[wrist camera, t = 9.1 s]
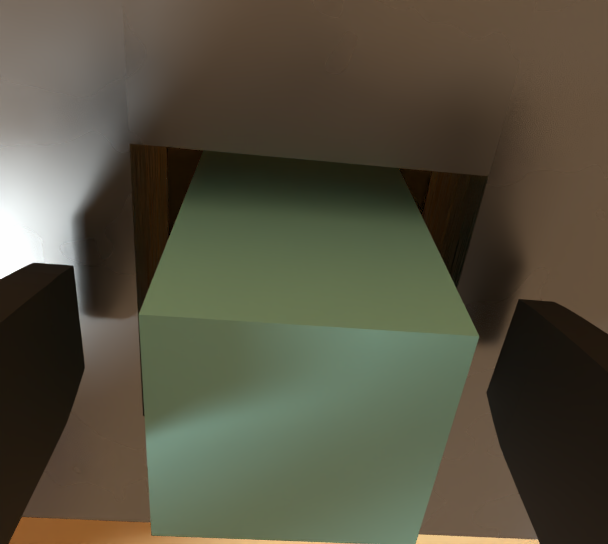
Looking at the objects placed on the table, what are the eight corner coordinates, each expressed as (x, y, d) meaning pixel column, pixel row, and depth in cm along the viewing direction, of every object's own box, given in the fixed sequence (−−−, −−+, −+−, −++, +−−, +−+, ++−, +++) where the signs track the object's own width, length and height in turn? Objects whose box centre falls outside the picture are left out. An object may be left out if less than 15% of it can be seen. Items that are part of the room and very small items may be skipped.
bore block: (47, 417, 15) (-2, 515, 13) (-42, -129, 9) (-168, -154, 7) (688, 453, 17) (762, 548, 14) (972, -5, 11) (1193, 15, 8)
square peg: (202, 310, 14) (151, 535, 9) (204, 147, 12) (138, 314, 7) (367, 320, 14) (415, 545, 9) (396, 163, 12) (479, 336, 7)
